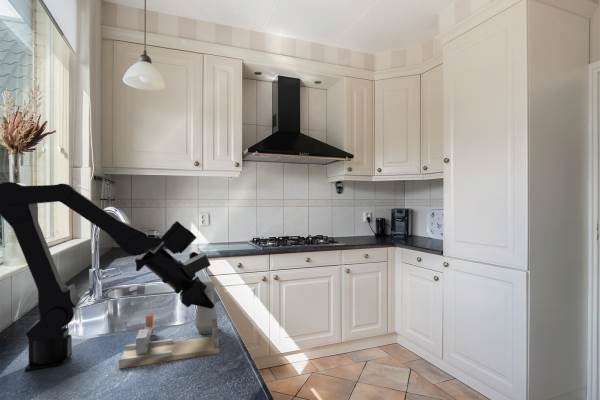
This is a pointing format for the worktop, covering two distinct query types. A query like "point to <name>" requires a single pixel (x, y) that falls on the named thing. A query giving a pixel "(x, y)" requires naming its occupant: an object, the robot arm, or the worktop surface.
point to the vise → (171, 350)
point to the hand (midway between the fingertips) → (211, 305)
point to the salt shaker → (206, 311)
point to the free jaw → (145, 335)
